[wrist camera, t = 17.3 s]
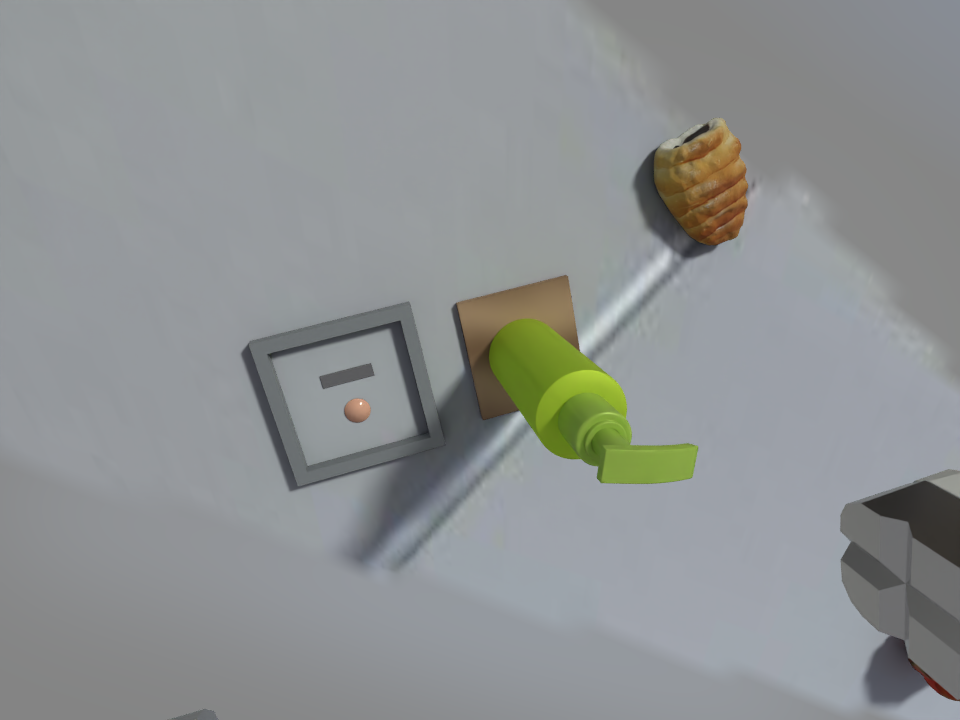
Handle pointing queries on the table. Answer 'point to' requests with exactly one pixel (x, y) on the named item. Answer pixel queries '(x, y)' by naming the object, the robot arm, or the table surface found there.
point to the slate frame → (355, 408)
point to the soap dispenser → (578, 407)
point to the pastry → (703, 181)
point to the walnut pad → (497, 311)
